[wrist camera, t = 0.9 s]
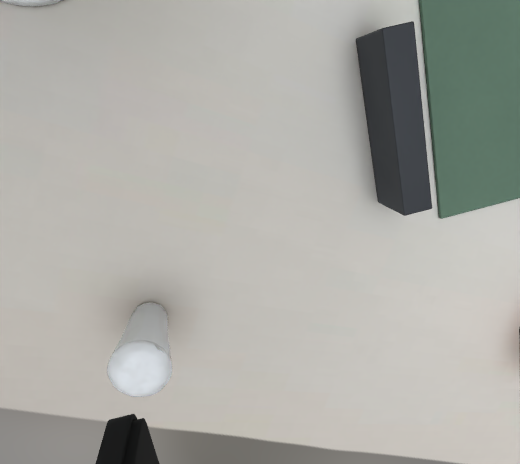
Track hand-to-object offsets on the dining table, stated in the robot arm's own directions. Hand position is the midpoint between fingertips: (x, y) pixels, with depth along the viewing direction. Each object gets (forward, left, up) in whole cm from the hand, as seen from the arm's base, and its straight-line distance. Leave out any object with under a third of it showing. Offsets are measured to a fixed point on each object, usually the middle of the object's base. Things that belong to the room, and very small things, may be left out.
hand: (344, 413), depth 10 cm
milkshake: (+9, -10, -29) cm, 32 cm away
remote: (-3, +14, -26) cm, 29 cm away
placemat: (-3, +25, -28) cm, 38 cm away
